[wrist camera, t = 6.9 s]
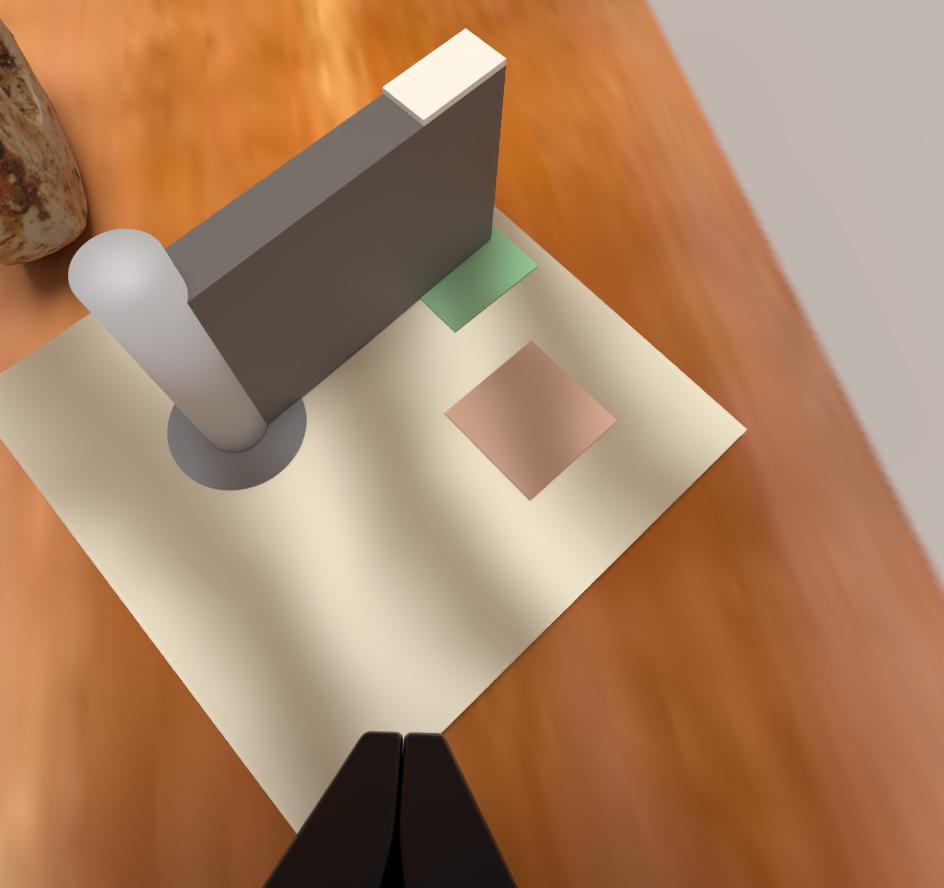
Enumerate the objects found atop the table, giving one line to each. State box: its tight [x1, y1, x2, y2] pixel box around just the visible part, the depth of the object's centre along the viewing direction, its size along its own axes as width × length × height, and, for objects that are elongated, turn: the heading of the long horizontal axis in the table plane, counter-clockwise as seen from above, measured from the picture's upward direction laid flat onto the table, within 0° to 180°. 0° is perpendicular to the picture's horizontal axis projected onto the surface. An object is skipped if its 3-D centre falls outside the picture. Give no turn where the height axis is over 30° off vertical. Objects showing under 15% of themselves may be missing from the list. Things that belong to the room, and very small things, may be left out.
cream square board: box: [0, 206, 747, 833], centre depth 23 cm, size 18×18×1 cm
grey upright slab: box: [68, 28, 506, 452], centre depth 20 cm, size 12×2×8 cm, turn 135°
